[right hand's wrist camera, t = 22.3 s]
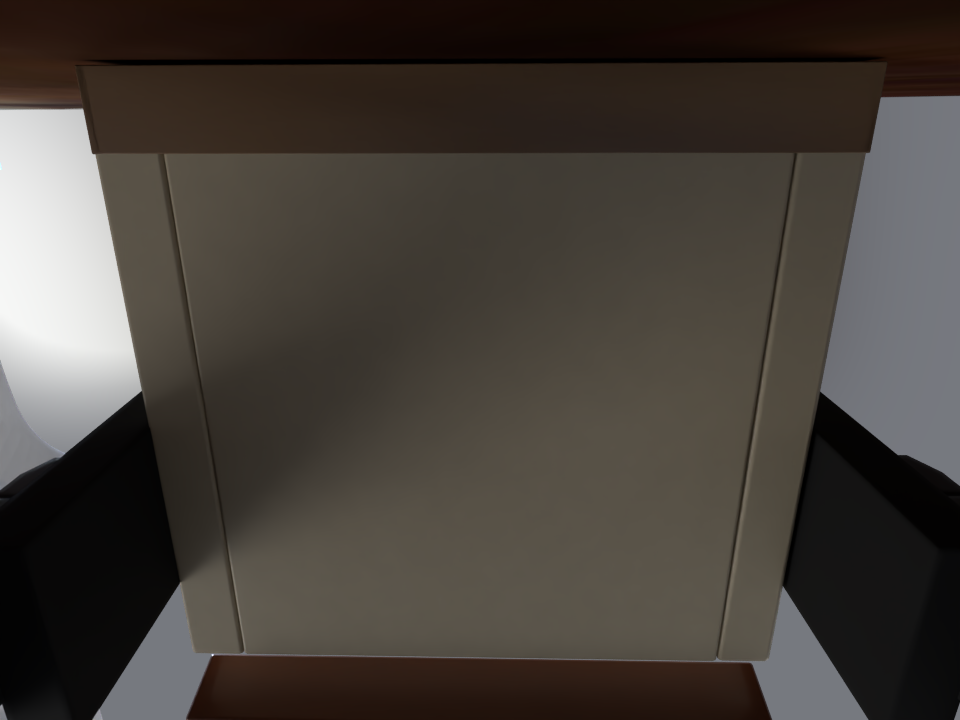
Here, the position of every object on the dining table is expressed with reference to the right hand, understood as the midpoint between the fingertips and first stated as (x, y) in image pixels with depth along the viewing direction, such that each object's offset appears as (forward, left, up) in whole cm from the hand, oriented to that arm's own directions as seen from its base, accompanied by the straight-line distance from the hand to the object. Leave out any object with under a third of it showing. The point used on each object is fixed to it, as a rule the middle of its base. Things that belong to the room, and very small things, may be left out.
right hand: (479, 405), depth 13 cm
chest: (+2, +2, -6) cm, 7 cm away
